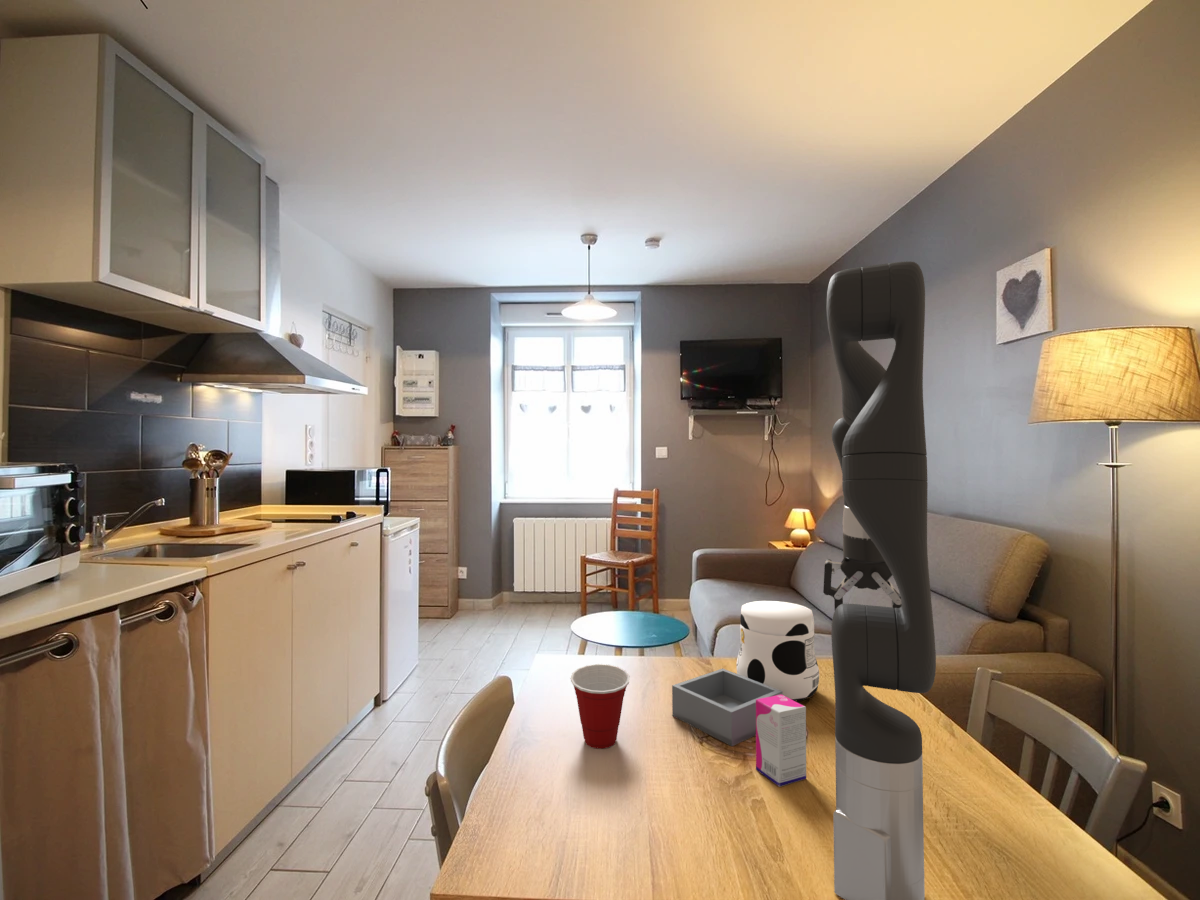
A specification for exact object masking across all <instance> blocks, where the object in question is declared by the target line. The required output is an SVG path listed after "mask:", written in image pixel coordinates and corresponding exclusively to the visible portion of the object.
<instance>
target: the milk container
mask: <svg viewBox="0 0 1200 900" xmlns="http://www.w3.org/2000/svg"><path fill="white" fill-rule="evenodd" d="M739 632H740V633H739V634H740V643H739V644H740V645H739V646H740V647H739V651H738V653H737V657H736V658H737V659H736V674H739V675H741V676H744V677H746V678H749V679H752V680H754V681H757V682H760V683H762V684H765V685H768V686H770V687H773V688H775V689H778V690H781V691H783V695H784V696H785V697H787V698H789V699H791V700H793V701H795V702H800V701H805V700H807V699H810V698H811V697H813V696H814V695H815V694H816V692H817V690H818V687H819V683H820V668H819V665H818V661H817V660H818V659H817V658H816V653H815V618H814V614H813V610H812V609H811V608H808V607H807V606H805V605H801V604H799V603H793V602H787V601H778V600H758V601H757V600H756V601H750V602H746V603H744V604H742V605H741V609H740V624H739Z"/></svg>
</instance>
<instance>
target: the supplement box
mask: <svg viewBox="0 0 1200 900" xmlns="http://www.w3.org/2000/svg"><path fill="white" fill-rule="evenodd" d="M806 718H807V706H805V705H803V704H802V703H800V702H798V701H793V700H791V699H789V698H787V697H785V696H784V695H776V696H771V697H766V698H761V699H756V735H755V770H756V771H757V772H759V773H760V774H761V775H763V777H765V778H767V779H768V780H769V781H771V782H772V783H773V784H774V785H776V786H777V787H784V786H788V785H790V784H794V783H797V782H800V781H804V780H806V779H807V719H806Z"/></svg>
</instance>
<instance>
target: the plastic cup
mask: <svg viewBox="0 0 1200 900" xmlns="http://www.w3.org/2000/svg"><path fill="white" fill-rule="evenodd" d="M569 678H570V682H571V684H572V685H573V689H574V692H575V695H576V696H575V697H576V701H577V708H578V715H579V720H580V724H581V729H582V736H583V740H584V742H585V744H586V745H587V746H588V747H589V748H592V749H601V750H602V749H608V748H611V747H613V746H614V745H615V744H616V742H617V739H618V733H619V727H620V726H619V725H620V723H621V716H622V709H623V703H624V697H625V693H626V689H627V687H628V685H630V684H629V683H630V681H631V676H630V674H629V672H627V670H626V669H623V668H621V667H619V666H616V665H611V664H603V663H601V664H600V663H597V664H587V665H584V666H582V667H579V668H577V669H576V670H574V671H573V672H572V673H571V675H570V677H569Z"/></svg>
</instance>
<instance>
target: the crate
mask: <svg viewBox="0 0 1200 900" xmlns="http://www.w3.org/2000/svg"><path fill="white" fill-rule="evenodd" d="M671 693H672V695H671V697H672V700H671V701H672V703H671V705H672V710H671V711H672V712H671V713H672V715H671V716H672V717H674V718H676V719H678V720H680V721H681V722H684V723H685V724H687V725H689V726H691V727H693V728H695V729H698V730H699V731H700V732H703V733H705V734H707V735H709V736H711V737H713V738H715V739H716V740H719V741H721V742H722V743H725V744H726V745H728V746H730V747H734V746H735V745H738V744H740V743H742V742H745V741H746V740H748V739H752V738H753V737H756V699H761V698H766V697H771V696H776V695H783V691H781V690H778V689H775V688H773V687H770V686H768V685H765V684H762V683H760V682H757V681H754V680H752V679H749V678H746V677H744V676H741V675H739V674H737V672H736V673H735V672H732V670H728V669H726V668H720V669H717V670H715V671H711V672H708V673H706V674H702V675H699V676H695V677H693V678H690V679H687V680H685V681H682V682H678V683H675V684H672V686H671Z"/></svg>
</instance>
